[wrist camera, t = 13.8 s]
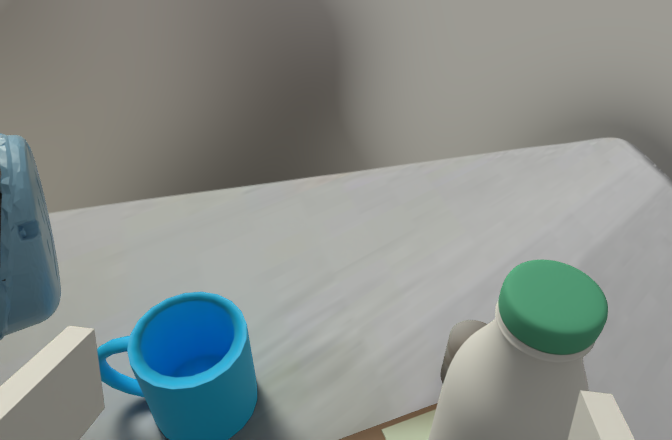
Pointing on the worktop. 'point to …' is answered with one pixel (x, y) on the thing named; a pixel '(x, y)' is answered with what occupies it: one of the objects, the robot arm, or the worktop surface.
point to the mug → (189, 366)
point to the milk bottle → (524, 359)
